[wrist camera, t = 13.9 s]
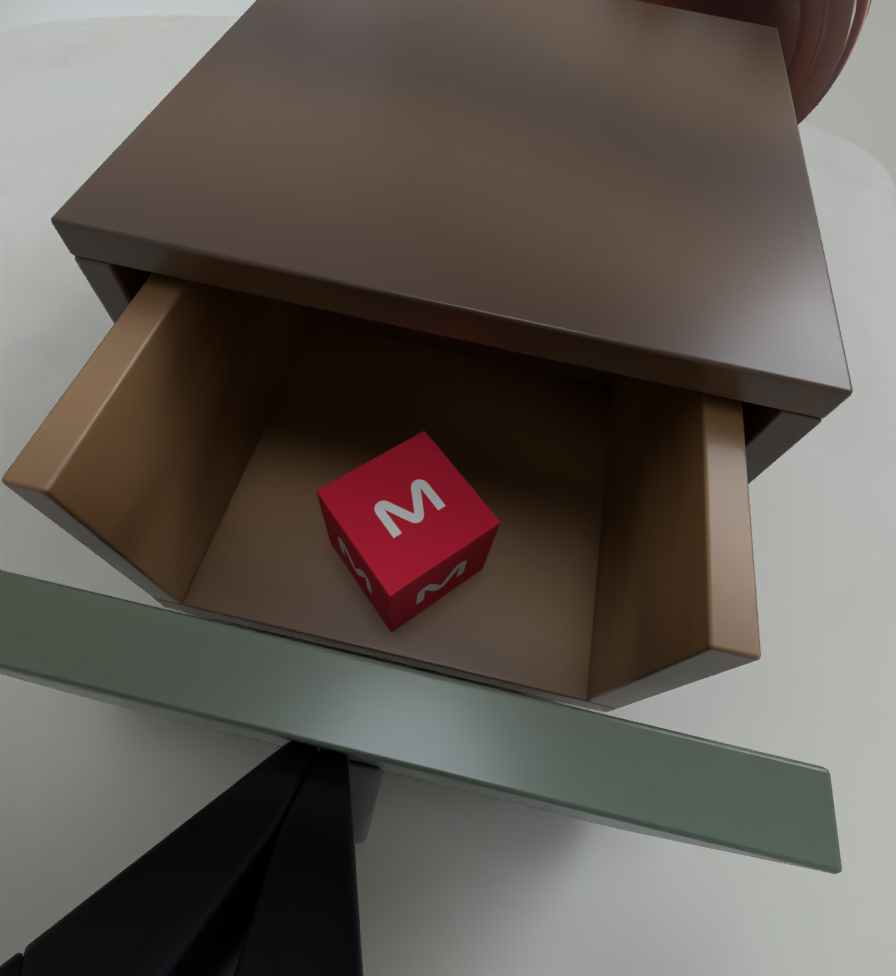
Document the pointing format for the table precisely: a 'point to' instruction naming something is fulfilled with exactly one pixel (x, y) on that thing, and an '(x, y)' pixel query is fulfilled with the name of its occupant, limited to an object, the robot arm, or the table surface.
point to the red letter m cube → (407, 528)
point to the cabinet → (496, 190)
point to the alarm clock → (797, 37)
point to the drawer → (447, 622)
